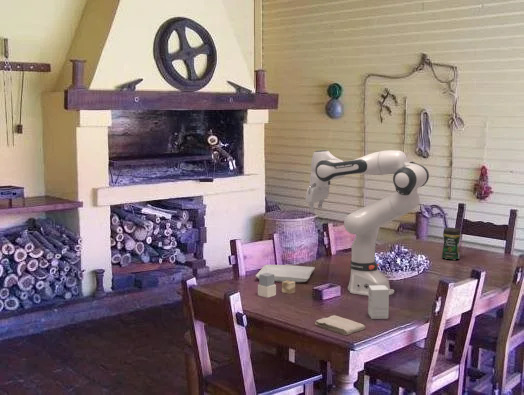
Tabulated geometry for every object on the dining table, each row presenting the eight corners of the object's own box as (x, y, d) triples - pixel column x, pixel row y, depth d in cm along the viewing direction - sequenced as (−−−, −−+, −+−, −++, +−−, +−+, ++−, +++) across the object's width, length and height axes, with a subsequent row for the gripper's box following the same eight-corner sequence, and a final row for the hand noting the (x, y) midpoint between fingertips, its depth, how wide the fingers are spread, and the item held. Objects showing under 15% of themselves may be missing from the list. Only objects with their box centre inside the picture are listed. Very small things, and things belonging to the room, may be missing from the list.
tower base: (275, 295, 319) (275, 284, 319) (267, 297, 315) (267, 287, 314) (266, 292, 323) (266, 282, 323) (257, 295, 319) (257, 285, 318)
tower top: (274, 284, 319) (274, 274, 318) (267, 286, 315) (267, 276, 315) (266, 282, 322) (266, 272, 322) (259, 284, 318) (259, 274, 318)
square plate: (308, 285, 338) (308, 277, 338) (254, 282, 344) (254, 275, 343) (315, 272, 365) (315, 265, 364) (265, 270, 370) (265, 263, 370)
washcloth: (332, 320, 283) (332, 312, 282) (366, 330, 269) (366, 322, 269) (312, 326, 275) (313, 318, 274) (346, 337, 261) (346, 329, 261)
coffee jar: (440, 259, 396) (441, 228, 393) (444, 257, 402) (445, 226, 400) (457, 261, 391) (458, 229, 388) (460, 258, 397) (462, 227, 395)
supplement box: (384, 313, 290) (385, 284, 288) (388, 319, 282) (389, 289, 281) (367, 314, 289) (368, 285, 288) (370, 319, 282) (371, 289, 280)
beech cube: (295, 292, 325) (295, 281, 324) (289, 293, 322) (289, 283, 321) (287, 290, 328) (287, 280, 327) (281, 292, 325) (281, 282, 324)
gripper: (315, 186, 326) (312, 214, 329) (332, 180, 344) (329, 207, 346) (303, 183, 329) (301, 211, 332) (320, 178, 347) (318, 205, 349)
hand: (315, 209), depth 339 cm, fingers open, 8 cm apart
